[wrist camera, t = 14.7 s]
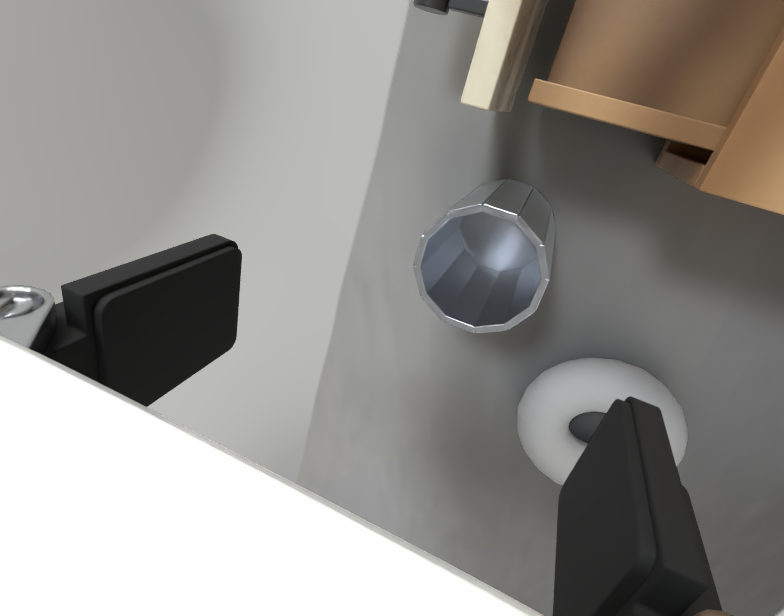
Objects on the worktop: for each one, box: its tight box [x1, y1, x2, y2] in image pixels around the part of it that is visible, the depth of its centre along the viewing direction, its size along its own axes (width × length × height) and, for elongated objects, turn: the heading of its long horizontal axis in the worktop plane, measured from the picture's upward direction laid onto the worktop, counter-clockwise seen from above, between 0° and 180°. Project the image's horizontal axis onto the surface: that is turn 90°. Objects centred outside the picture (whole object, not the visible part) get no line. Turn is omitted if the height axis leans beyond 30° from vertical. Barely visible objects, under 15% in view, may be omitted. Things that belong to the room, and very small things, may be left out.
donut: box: [517, 357, 688, 486], centre depth 29 cm, size 10×3×10 cm
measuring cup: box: [413, 179, 556, 334], centre depth 24 cm, size 6×6×9 cm
